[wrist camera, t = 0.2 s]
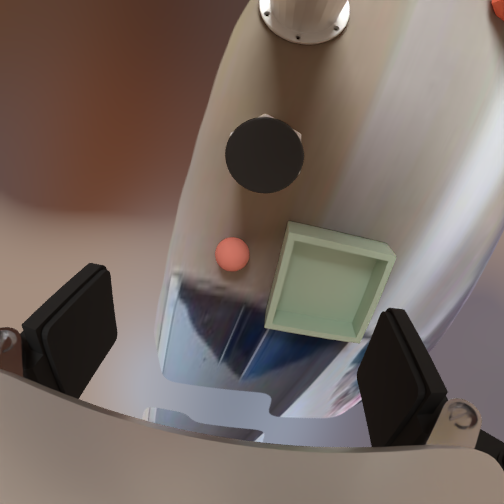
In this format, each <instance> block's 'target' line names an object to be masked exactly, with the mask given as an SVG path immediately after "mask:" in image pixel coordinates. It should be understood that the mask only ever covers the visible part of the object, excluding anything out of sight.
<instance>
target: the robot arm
mask: <svg viewBox="0 0 504 504" xmlns="http://www.w3.org/2000/svg"><path fill="white" fill-rule="evenodd" d="M259 9H260V13H261V17H262V19H263V20H264V22H265V24H266V25H267V26H268V28H269V29H270V30H272V31H273V32H274V33H275V34H276V35H278V36H280V37H281V38H283V39H285V40H288V41H290V42H294V43H298V44H306V45H310V44H319V43H324V42H327V41H329V40H331V39H333V38H334V37H336V36H337V35H339V34H340V33H341V32H342V30H343V29H344V28H345V26H346V25H347V22H348V20H349V16H350V5H349V2H348V0H259ZM266 15H269V16H268V17H266ZM334 29H336V30H337V31H335V30H334ZM296 37H299V38H300V39H299V40H298V39H296ZM22 328H23V332H22V333H21V334H20V333H19V332H18V331H17V330H16V329H14V328H10V327H3V328H0V504H504V443H503V442H502V441H500V440H498V439H496V438H495V437H493V436H491V435H489V434H488V433H486V432H485V431H483V430H481V429H480V428H481V423H482V419H481V415H480V413H479V411H478V409H477V408H476V407H475V406H474V405H473V404H471V403H470V402H468V401H466V400H464V399H459V398H455V399H450V400H449V401H448V399H447V397H446V394H447V389H446V388H445V385H444V383H443V381H442V379H441V377H440V375H439V373H438V372H437V369H436V367H435V365H434V363H433V361H432V359H431V357H430V355H429V353H428V352H427V350H426V348H425V346H424V344H423V342H422V340H421V338H420V337H419V335H418V333H417V331H416V329H415V328H414V326H413V324H412V322H411V320H410V319H409V317H408V315H407V313H406V312H405V310H403V309H395V308H388V309H387V310H386V312H382V313H381V315H380V317H379V320H378V322H377V325H376V327H375V330H374V332H373V335H372V337H371V340H370V342H369V345H368V347H367V350H366V352H365V354H364V357H363V359H362V361H361V364H360V366H359V368H358V371H357V381H358V385H359V389H360V394H361V398H362V403H363V407H364V412H365V416H366V421H367V426H368V430H369V435H370V440H371V445H372V447H349V448H348V447H310V446H293V445H281V444H270V443H261V442H253V441H245V440H238V439H231V438H224V437H218V436H213V435H207V434H202V433H197V432H192V431H187V430H182V429H178V428H173V427H169V426H165V425H161V424H157V423H153V422H149V421H145V420H142V419H138V418H134V417H131V416H127V415H124V414H120V413H118V412H114V411H111V410H108V409H104V408H102V407H99V406H96V405H93V404H90V403H87V402H85V401H82V400H79V397H80V396H81V394H82V393H83V391H84V389H85V388H86V386H87V385H88V383H89V381H90V380H91V378H92V377H93V375H94V374H95V372H96V370H97V369H98V367H99V366H100V364H101V363H102V361H103V360H104V358H105V356H106V355H107V353H108V352H109V350H110V349H111V347H112V346H113V344H114V343H115V341H116V339H117V327H116V320H115V312H114V304H113V295H112V286H111V276H110V272H109V271H108V270H107V269H106V267H105V266H103V265H99V264H93V263H89V264H88V265H86V266H85V267H84V268H83V269H82V270H81V271H80V272H78V273H77V274H76V275H75V276H74V277H73V278H71V279H70V280H69V281H68V282H67V283H66V284H65V285H63V286H62V287H61V288H60V289H59V290H58V291H57V292H56V293H55V294H54V295H52V296H51V297H50V298H49V299H48V300H47V301H46V302H45V303H44V304H43V305H42V306H41V307H40V308H38V309H37V310H36V311H35V312H34V313H33V314H32V315H31V316H30V317H29V318H28V319H27V320H26V321H25V322H24V323H23V324H22Z"/></svg>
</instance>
